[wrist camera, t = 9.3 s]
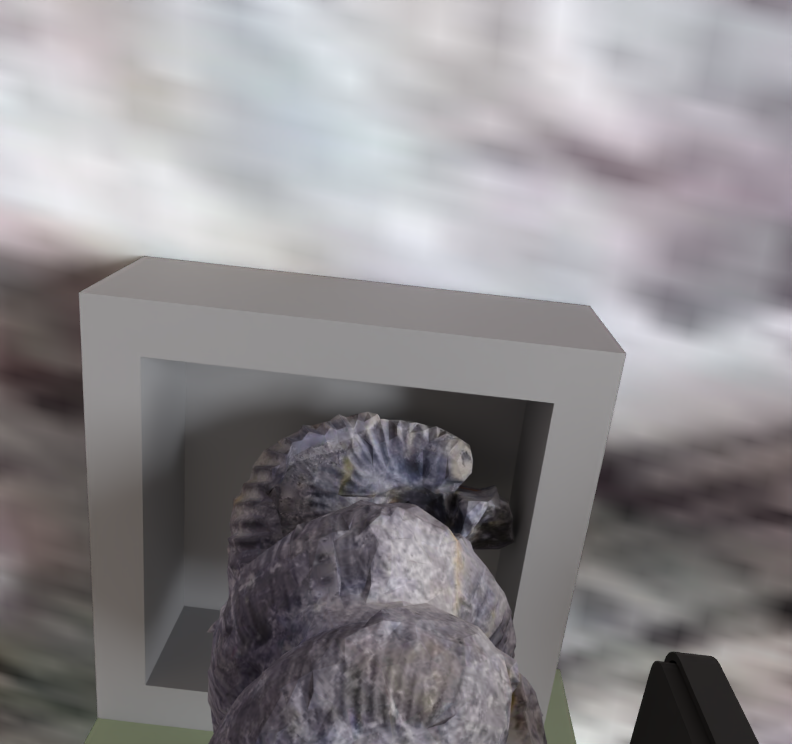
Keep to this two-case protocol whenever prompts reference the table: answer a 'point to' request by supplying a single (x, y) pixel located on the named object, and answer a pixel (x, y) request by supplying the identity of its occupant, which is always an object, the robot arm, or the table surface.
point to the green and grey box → (308, 405)
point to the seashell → (367, 597)
